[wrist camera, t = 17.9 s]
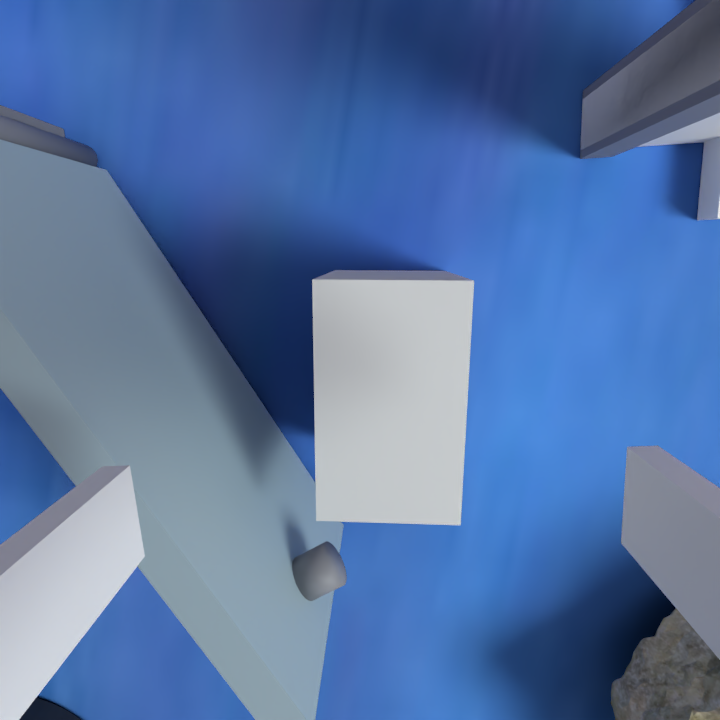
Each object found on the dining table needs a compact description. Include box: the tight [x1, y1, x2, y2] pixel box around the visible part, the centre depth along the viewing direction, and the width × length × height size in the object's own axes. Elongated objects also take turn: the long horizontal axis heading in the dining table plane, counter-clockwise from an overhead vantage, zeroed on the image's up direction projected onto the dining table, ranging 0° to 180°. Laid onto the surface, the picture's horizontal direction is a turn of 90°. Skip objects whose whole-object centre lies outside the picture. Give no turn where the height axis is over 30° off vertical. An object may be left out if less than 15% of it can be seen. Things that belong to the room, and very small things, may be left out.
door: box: [0, 115, 346, 720], centre depth 21 cm, size 26×3×14 cm, turn 31°
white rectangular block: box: [312, 270, 474, 525], centre depth 24 cm, size 6×10×9 cm, turn 0°
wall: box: [0, 0, 720, 220], centre depth 17 cm, size 44×10×17 cm, turn 93°
